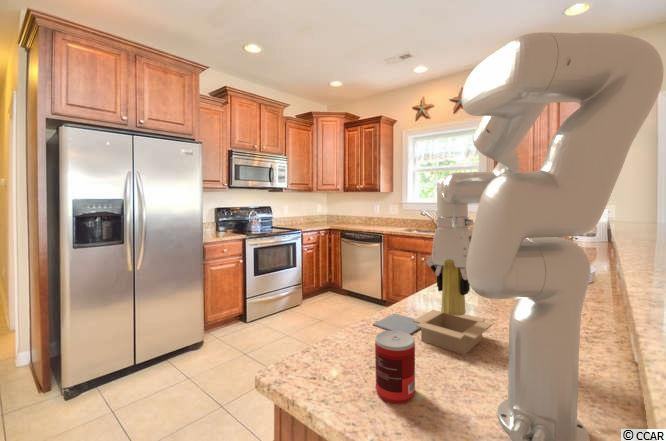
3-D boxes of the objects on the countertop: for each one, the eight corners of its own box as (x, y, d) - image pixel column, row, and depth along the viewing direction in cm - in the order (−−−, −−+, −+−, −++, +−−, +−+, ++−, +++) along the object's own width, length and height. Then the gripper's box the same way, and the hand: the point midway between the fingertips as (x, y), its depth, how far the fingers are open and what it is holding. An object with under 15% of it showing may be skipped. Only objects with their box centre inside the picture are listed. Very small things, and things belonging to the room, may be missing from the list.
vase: (467, 316, 81) (467, 260, 80) (442, 315, 82) (442, 260, 81) (463, 309, 87) (462, 257, 86) (439, 308, 88) (439, 256, 87)
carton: (470, 362, 74) (470, 341, 74) (408, 341, 86) (408, 323, 85) (495, 339, 86) (495, 321, 85) (437, 323, 97) (437, 307, 97)
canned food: (408, 380, 67) (408, 329, 66) (420, 404, 59) (420, 346, 58) (372, 381, 67) (372, 330, 66) (379, 405, 59) (378, 348, 58)
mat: (407, 336, 88) (407, 334, 88) (372, 325, 97) (372, 323, 97) (428, 324, 97) (428, 322, 97) (395, 314, 105) (395, 313, 105)
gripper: (491, 223, 80) (492, 294, 81) (429, 222, 92) (429, 284, 93) (480, 225, 75) (481, 301, 75) (415, 224, 87) (416, 289, 87)
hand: (452, 291), depth 84 cm, fingers closed on vase, 5 cm apart
